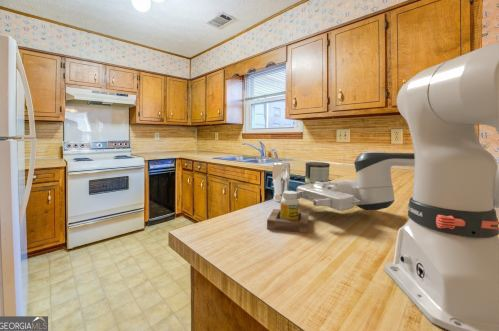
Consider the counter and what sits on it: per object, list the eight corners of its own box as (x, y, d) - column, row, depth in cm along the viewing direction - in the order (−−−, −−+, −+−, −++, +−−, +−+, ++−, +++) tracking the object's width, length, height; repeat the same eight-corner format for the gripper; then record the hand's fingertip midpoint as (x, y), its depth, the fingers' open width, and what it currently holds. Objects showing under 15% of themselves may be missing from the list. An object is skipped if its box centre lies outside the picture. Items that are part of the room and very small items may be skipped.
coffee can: (299, 194, 111) (300, 163, 110) (313, 191, 118) (314, 161, 116) (319, 198, 103) (320, 165, 102) (333, 195, 110) (334, 163, 108)
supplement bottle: (289, 219, 77) (290, 189, 76) (302, 224, 73) (303, 192, 72) (276, 223, 74) (277, 191, 73) (288, 228, 70) (289, 195, 69)
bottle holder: (307, 232, 67) (307, 223, 66) (266, 228, 69) (267, 220, 69) (308, 219, 77) (308, 211, 77) (273, 216, 80) (273, 209, 80)
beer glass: (268, 199, 102) (269, 162, 101) (282, 197, 105) (283, 162, 104) (278, 203, 96) (279, 164, 94) (292, 201, 99) (293, 163, 98)
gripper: (363, 212, 74) (329, 219, 67) (314, 197, 92) (284, 201, 85) (364, 191, 73) (330, 196, 66) (315, 180, 91) (284, 183, 84)
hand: (304, 199), depth 76 cm, fingers open, 8 cm apart
